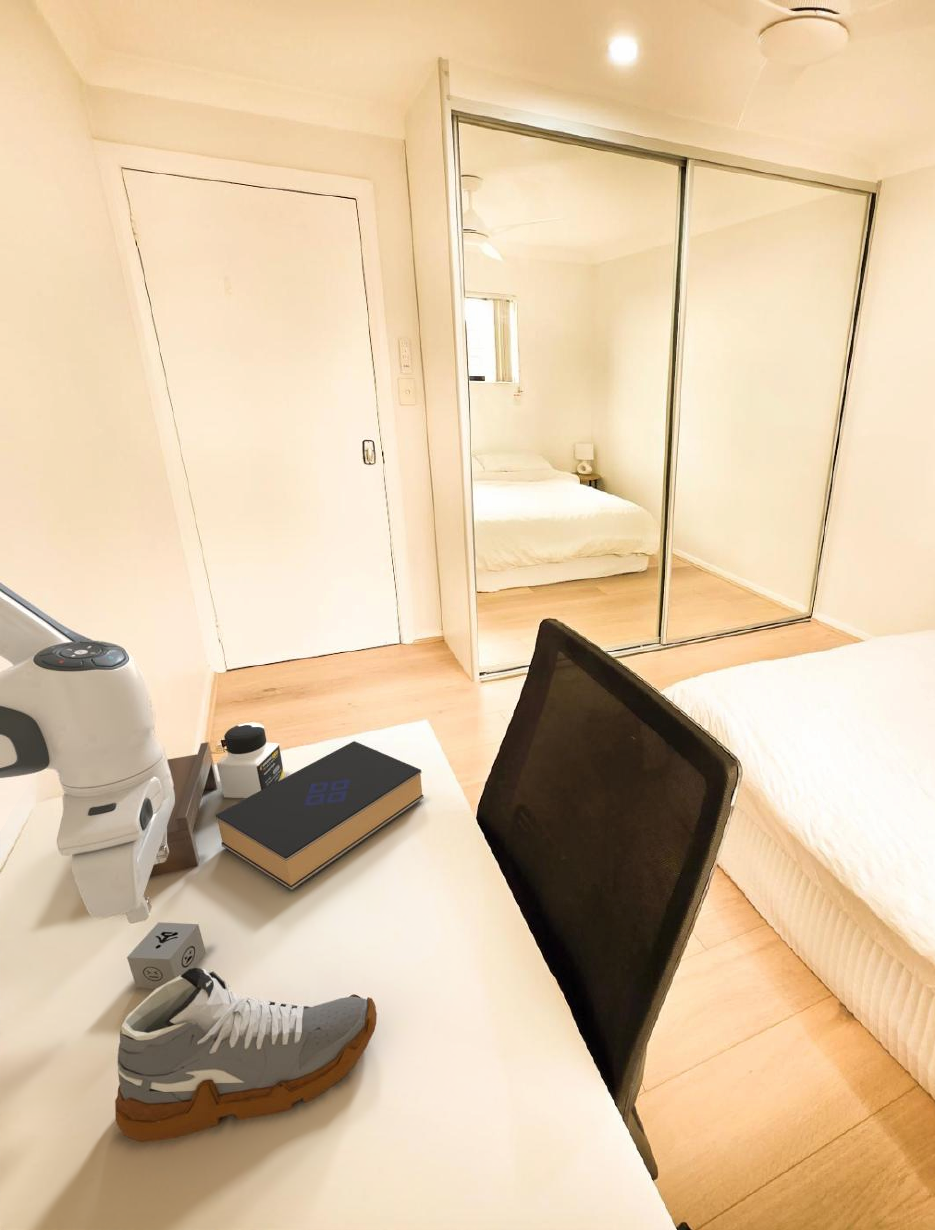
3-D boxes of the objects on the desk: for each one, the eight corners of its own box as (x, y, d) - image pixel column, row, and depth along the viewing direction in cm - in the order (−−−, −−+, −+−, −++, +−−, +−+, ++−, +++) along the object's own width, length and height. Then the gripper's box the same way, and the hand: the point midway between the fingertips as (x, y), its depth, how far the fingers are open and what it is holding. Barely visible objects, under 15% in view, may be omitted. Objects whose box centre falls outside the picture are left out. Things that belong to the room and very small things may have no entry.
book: (222, 849, 94) (214, 814, 92) (357, 771, 114) (353, 740, 112) (292, 895, 86) (285, 857, 84) (424, 801, 107) (421, 769, 104)
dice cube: (206, 954, 76) (198, 924, 75) (178, 990, 72) (169, 959, 70) (167, 952, 77) (158, 922, 75) (136, 988, 72) (126, 957, 70)
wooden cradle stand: (97, 891, 85) (81, 839, 82) (137, 800, 104) (124, 755, 101) (198, 867, 90) (186, 817, 87) (218, 785, 109) (208, 741, 106)
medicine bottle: (263, 799, 106) (252, 740, 101) (223, 798, 106) (210, 738, 101) (285, 775, 112) (275, 719, 108) (247, 774, 112) (235, 717, 108)
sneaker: (376, 1089, 62) (361, 983, 57) (102, 1163, 56) (57, 1050, 51) (382, 1007, 71) (369, 908, 66) (144, 1063, 64) (109, 957, 59)
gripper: (112, 744, 73) (139, 837, 77) (48, 855, 55) (89, 967, 60) (175, 733, 75) (198, 824, 80) (132, 836, 58) (165, 945, 63)
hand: (151, 886), depth 70 cm, fingers open, 8 cm apart
